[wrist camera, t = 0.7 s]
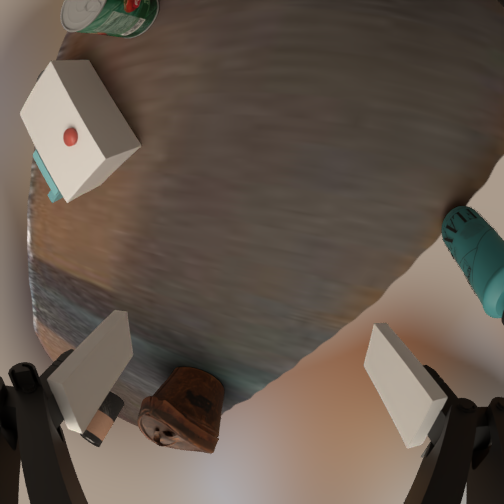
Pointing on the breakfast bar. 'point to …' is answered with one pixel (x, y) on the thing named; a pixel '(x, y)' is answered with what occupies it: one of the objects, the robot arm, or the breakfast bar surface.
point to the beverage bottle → (477, 256)
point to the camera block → (77, 127)
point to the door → (48, 178)
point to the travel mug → (103, 419)
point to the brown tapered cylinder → (184, 411)
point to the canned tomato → (109, 16)
